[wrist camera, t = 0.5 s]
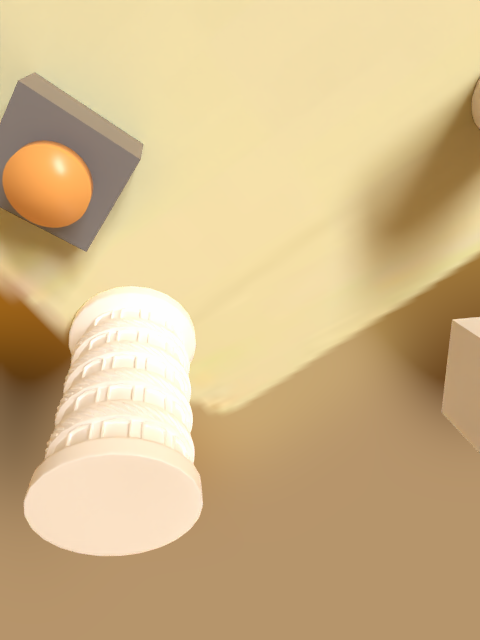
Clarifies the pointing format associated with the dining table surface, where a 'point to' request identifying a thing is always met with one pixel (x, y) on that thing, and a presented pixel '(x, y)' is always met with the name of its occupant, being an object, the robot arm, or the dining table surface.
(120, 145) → the button stand
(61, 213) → the button
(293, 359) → the dining table surface
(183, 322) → the decorative container
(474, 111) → the cup
